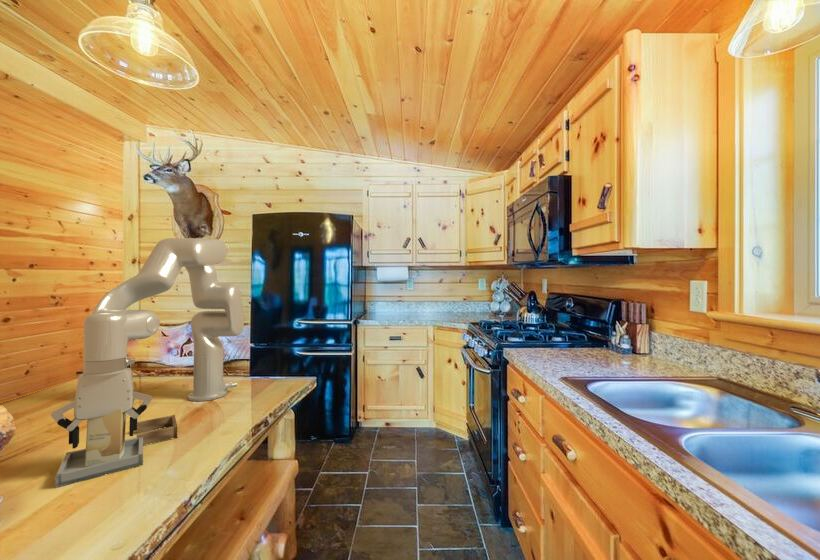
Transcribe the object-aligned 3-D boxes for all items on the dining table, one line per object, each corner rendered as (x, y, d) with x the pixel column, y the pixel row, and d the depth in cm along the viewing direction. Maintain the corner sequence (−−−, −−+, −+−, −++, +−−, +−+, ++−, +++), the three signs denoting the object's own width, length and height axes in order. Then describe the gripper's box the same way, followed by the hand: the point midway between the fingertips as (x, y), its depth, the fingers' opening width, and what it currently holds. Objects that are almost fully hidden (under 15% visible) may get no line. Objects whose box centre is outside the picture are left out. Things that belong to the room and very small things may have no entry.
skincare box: (84, 468, 75) (85, 413, 75) (90, 459, 78) (91, 406, 79) (121, 460, 78) (122, 407, 78) (126, 452, 82) (126, 402, 82)
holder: (174, 424, 99) (174, 414, 99) (177, 437, 91) (177, 426, 91) (137, 432, 94) (137, 422, 94) (136, 447, 86) (136, 435, 86)
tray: (142, 445, 87) (143, 436, 87) (142, 465, 77) (142, 454, 77) (66, 463, 78) (66, 452, 78) (55, 487, 69) (55, 476, 69)
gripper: (152, 358, 86) (151, 425, 86) (55, 368, 76) (54, 444, 75) (152, 363, 80) (151, 435, 80) (48, 375, 70) (46, 458, 70)
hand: (104, 439), depth 78 cm, fingers open, 9 cm apart
